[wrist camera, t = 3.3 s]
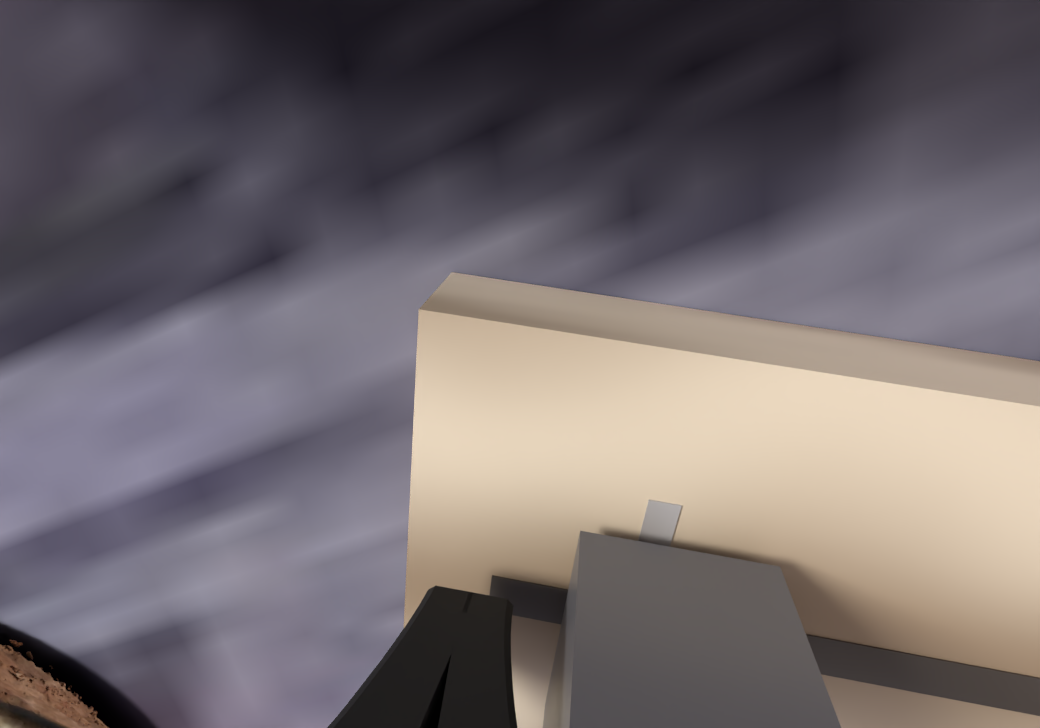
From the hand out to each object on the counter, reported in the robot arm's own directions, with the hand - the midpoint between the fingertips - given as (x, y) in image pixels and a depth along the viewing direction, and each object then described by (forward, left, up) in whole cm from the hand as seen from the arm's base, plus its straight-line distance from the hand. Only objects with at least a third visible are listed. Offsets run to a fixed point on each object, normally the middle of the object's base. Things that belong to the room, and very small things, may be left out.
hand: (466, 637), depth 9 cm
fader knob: (0, -3, -1) cm, 3 cm away
